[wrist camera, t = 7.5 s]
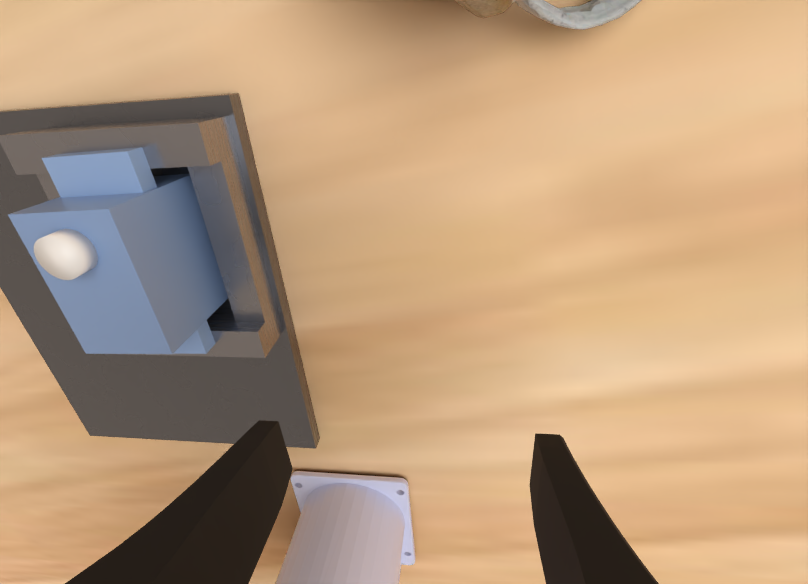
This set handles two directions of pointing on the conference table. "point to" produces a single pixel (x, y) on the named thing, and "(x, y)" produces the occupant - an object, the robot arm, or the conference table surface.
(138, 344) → the servo
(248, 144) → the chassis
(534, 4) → the ceramic mug
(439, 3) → the conference table surface
